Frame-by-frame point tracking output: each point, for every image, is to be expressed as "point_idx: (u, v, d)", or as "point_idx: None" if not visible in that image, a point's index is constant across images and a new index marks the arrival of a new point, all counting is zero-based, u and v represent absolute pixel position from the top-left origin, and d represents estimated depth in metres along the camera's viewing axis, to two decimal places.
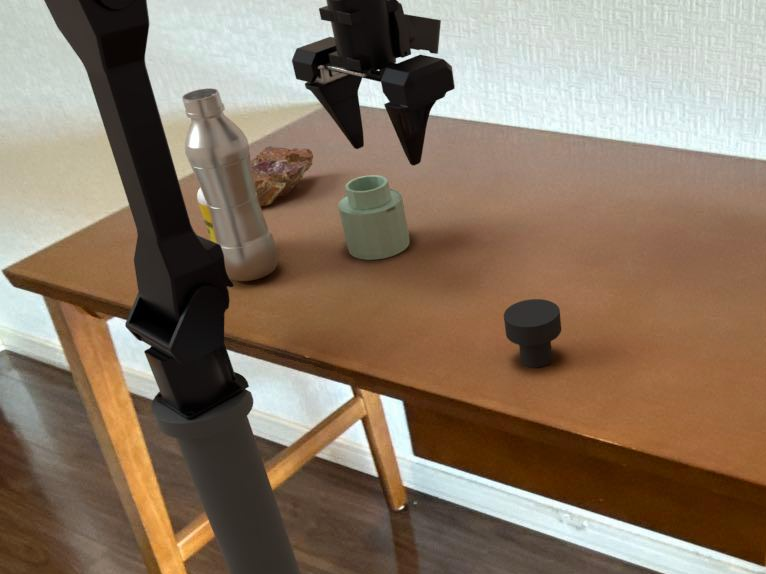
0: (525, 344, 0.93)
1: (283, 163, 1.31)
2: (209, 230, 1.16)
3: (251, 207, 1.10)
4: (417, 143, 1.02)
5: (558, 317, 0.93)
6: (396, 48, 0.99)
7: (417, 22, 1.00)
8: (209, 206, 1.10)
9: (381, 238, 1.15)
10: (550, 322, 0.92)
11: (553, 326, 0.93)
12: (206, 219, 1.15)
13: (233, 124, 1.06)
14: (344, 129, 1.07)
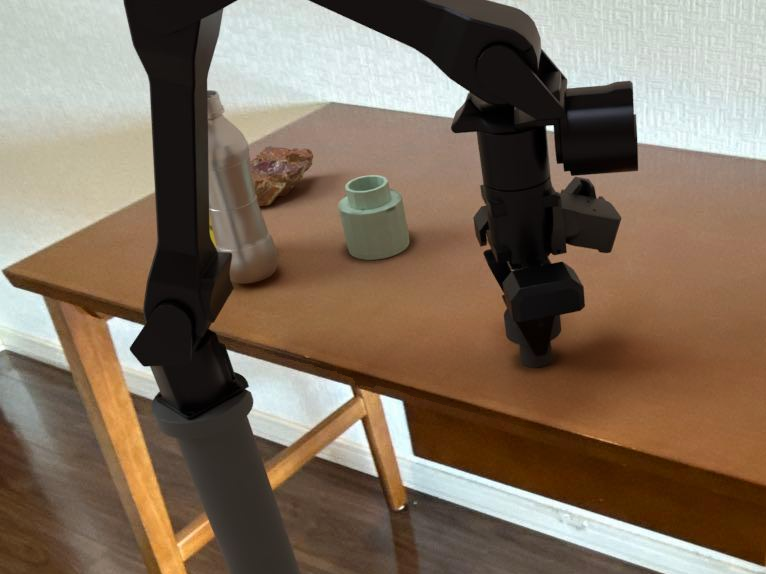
0: (525, 344, 0.93)
1: (283, 163, 1.31)
2: None
3: (250, 210, 1.10)
4: (540, 337, 0.92)
5: (558, 317, 0.93)
6: (549, 244, 0.87)
7: (583, 220, 0.87)
8: (209, 208, 1.09)
9: (381, 238, 1.15)
10: None
11: (553, 326, 0.93)
12: None
13: (233, 126, 1.06)
14: None
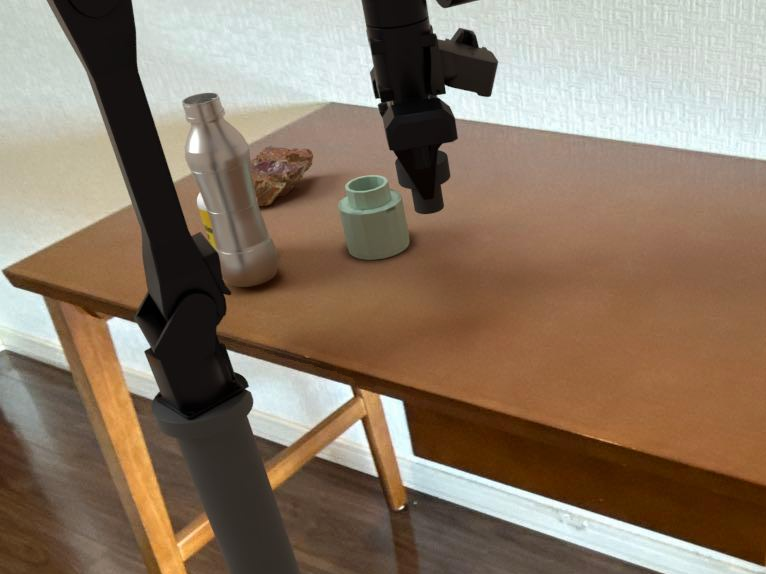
0: (414, 188, 0.99)
1: (283, 163, 1.31)
2: (209, 235, 1.15)
3: (251, 213, 1.09)
4: (426, 179, 0.98)
5: (445, 163, 0.99)
6: (429, 85, 0.93)
7: (461, 61, 0.93)
8: (209, 211, 1.09)
9: (381, 238, 1.15)
10: None
11: (439, 171, 0.99)
12: (206, 224, 1.14)
13: (233, 129, 1.05)
14: None
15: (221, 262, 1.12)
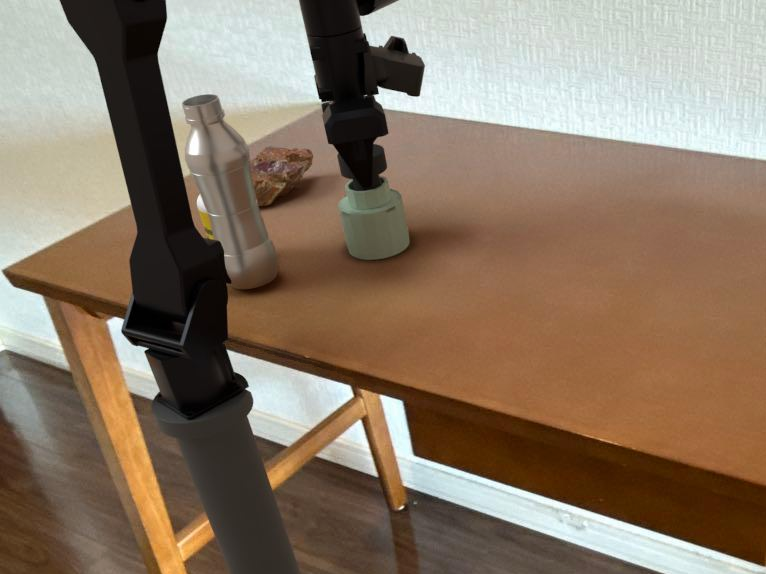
0: (354, 177, 1.12)
1: (283, 163, 1.31)
2: (209, 237, 1.15)
3: (251, 215, 1.09)
4: (363, 170, 1.10)
5: (382, 155, 1.12)
6: (364, 86, 1.06)
7: (391, 65, 1.05)
8: (209, 213, 1.08)
9: (381, 238, 1.15)
10: (373, 158, 1.11)
11: (376, 162, 1.11)
12: (206, 226, 1.14)
13: (233, 130, 1.04)
14: None
15: None
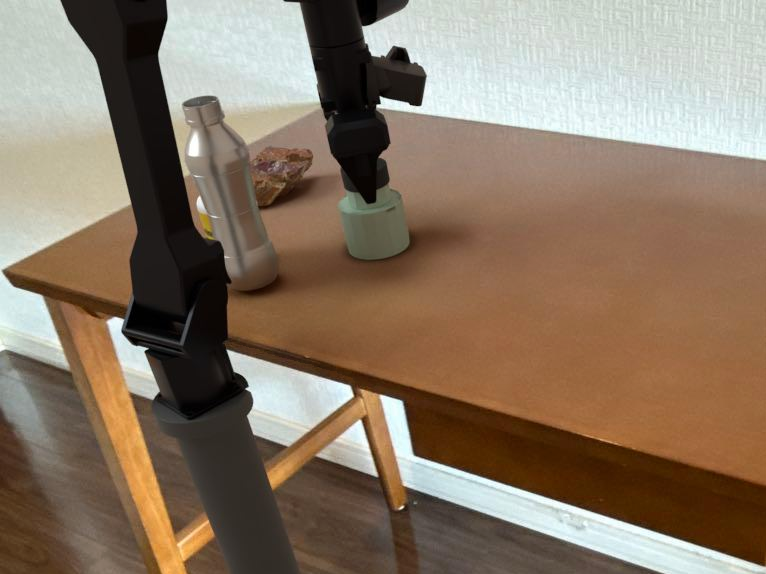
0: (357, 191, 1.13)
1: (283, 163, 1.31)
2: None
3: (251, 216, 1.08)
4: (368, 185, 1.10)
5: (384, 169, 1.13)
6: (366, 96, 1.07)
7: (393, 75, 1.06)
8: (209, 215, 1.08)
9: (381, 238, 1.15)
10: None
11: (379, 176, 1.12)
12: (206, 228, 1.14)
13: (233, 132, 1.04)
14: None
15: None
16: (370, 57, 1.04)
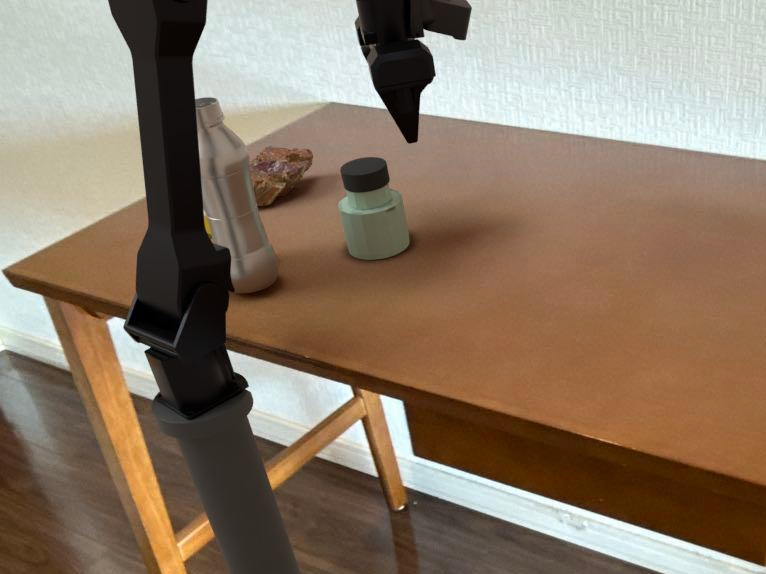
0: (357, 191, 1.13)
1: (283, 163, 1.31)
2: None
3: (251, 218, 1.08)
4: (409, 123, 1.05)
5: (384, 169, 1.13)
6: (409, 28, 1.03)
7: (437, 7, 1.02)
8: (208, 217, 1.07)
9: (381, 238, 1.15)
10: (376, 172, 1.12)
11: (379, 176, 1.12)
12: None
13: (233, 134, 1.04)
14: None
15: None
16: None
